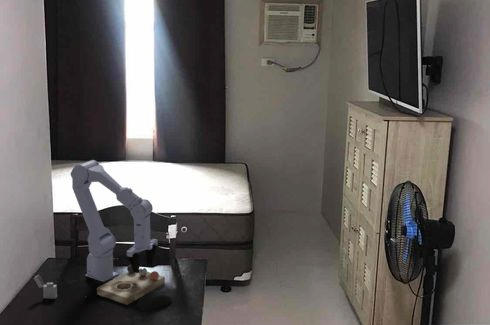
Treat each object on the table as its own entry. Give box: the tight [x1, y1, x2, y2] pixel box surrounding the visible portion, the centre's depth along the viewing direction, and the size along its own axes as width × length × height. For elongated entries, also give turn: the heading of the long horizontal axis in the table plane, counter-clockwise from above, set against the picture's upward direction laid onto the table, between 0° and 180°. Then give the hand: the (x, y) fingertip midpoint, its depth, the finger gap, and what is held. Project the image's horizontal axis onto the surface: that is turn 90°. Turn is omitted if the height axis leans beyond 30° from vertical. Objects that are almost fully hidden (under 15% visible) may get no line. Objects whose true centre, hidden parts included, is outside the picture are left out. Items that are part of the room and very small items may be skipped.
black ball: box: [126, 264, 134, 273], centre depth 196 cm, size 3×3×3 cm
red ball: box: [150, 270, 160, 280], centre depth 190 cm, size 3×3×3 cm
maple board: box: [96, 271, 166, 306], centre depth 189 cm, size 14×20×2 cm
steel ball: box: [139, 267, 148, 277], centre depth 193 cm, size 3×3×3 cm
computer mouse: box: [136, 289, 172, 312], centre depth 178 cm, size 6×11×4 cm, turn 131°
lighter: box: [33, 274, 58, 300], centre depth 180 cm, size 7×2×8 cm, turn 90°
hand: (143, 268), depth 193 cm, fingers open, 7 cm apart
